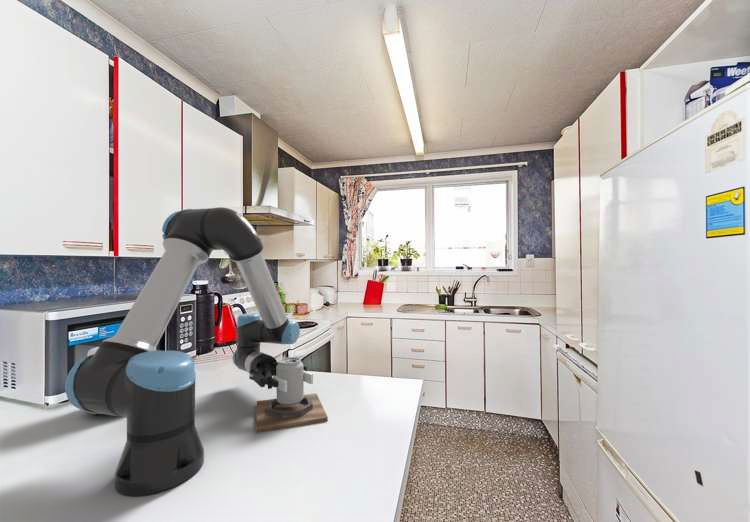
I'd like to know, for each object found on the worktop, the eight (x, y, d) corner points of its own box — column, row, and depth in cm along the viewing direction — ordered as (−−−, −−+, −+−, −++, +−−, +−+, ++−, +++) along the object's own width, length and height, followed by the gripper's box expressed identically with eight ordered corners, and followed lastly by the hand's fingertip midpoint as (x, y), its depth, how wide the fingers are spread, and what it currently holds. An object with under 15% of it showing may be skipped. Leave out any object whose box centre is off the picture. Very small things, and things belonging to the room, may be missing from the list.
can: (308, 401, 94) (308, 358, 95) (285, 409, 89) (285, 364, 89) (294, 394, 100) (293, 354, 100) (271, 401, 94) (271, 359, 94)
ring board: (327, 420, 89) (327, 411, 89) (256, 432, 83) (256, 422, 83) (316, 396, 106) (316, 388, 106) (256, 404, 100) (256, 396, 100)
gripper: (289, 369, 114) (329, 386, 98) (229, 385, 100) (264, 408, 84) (289, 348, 114) (329, 361, 98) (229, 360, 100) (264, 378, 84)
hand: (299, 382), depth 91 cm, fingers closed on can, 7 cm apart
